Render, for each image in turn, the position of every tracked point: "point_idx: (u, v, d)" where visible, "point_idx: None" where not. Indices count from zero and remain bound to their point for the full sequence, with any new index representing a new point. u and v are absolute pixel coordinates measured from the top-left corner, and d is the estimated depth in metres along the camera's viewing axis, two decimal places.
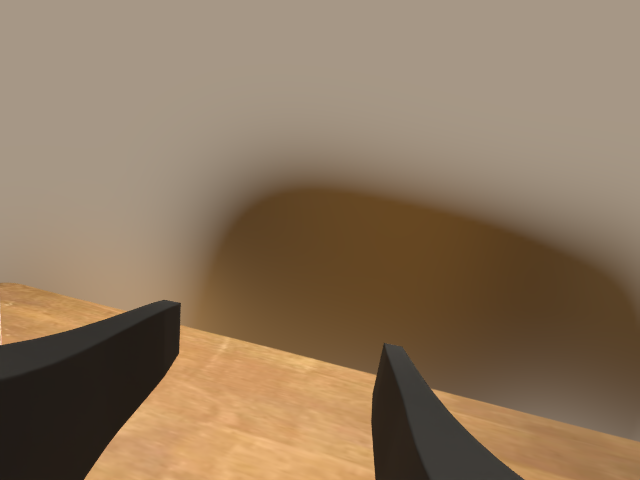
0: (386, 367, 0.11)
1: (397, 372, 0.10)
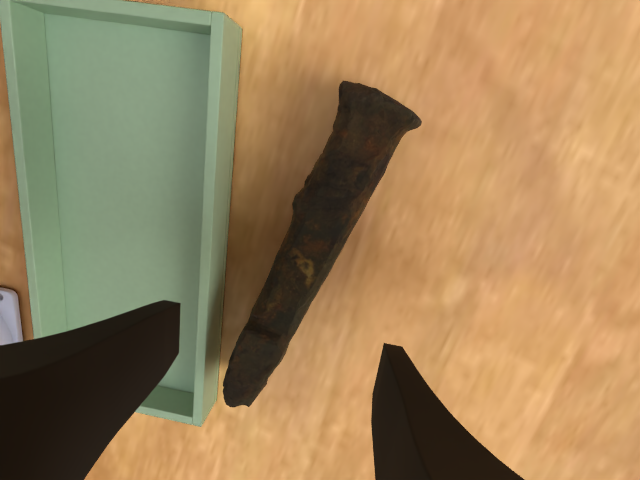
0: (386, 367, 0.11)
1: (397, 372, 0.10)
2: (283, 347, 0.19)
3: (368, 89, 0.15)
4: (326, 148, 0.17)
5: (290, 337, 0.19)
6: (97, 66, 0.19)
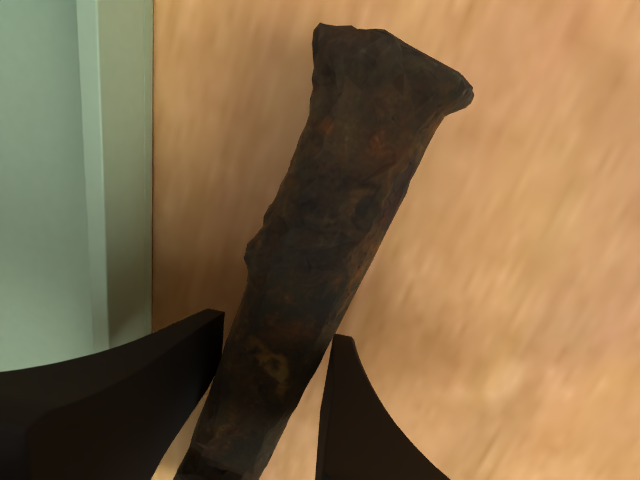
0: (330, 356, 0.11)
1: (336, 360, 0.10)
2: None
3: (369, 32, 0.07)
4: (296, 156, 0.09)
5: (259, 472, 0.12)
6: None
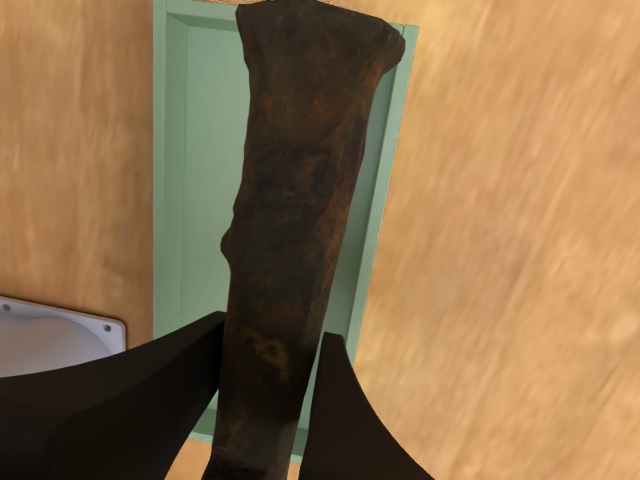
0: (320, 353, 0.11)
1: (324, 357, 0.10)
2: None
3: None
4: (246, 139, 0.09)
5: (284, 466, 0.11)
6: (243, 83, 0.18)
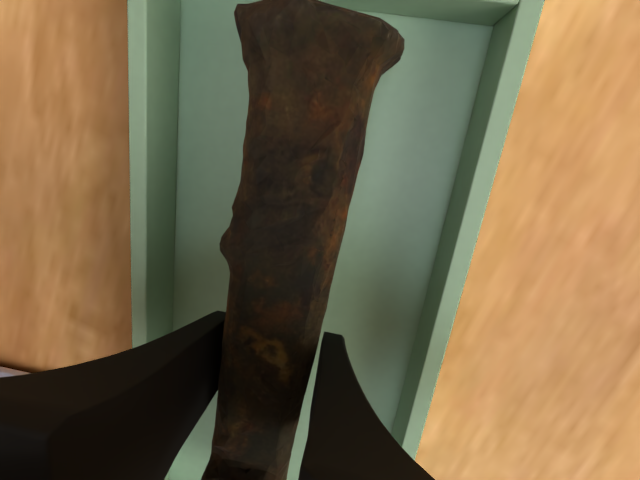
0: (320, 354, 0.11)
1: (325, 357, 0.10)
2: None
3: None
4: (245, 139, 0.09)
5: (284, 466, 0.11)
6: None
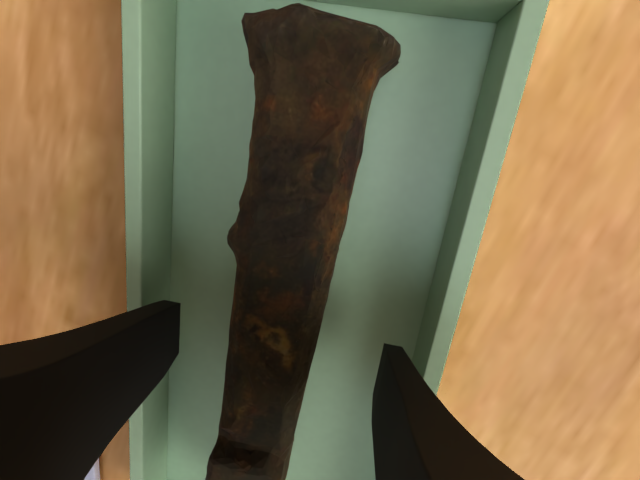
0: (386, 367, 0.11)
1: (397, 372, 0.10)
2: (278, 471, 0.12)
3: (286, 8, 0.08)
4: (251, 138, 0.10)
5: (287, 449, 0.12)
6: None
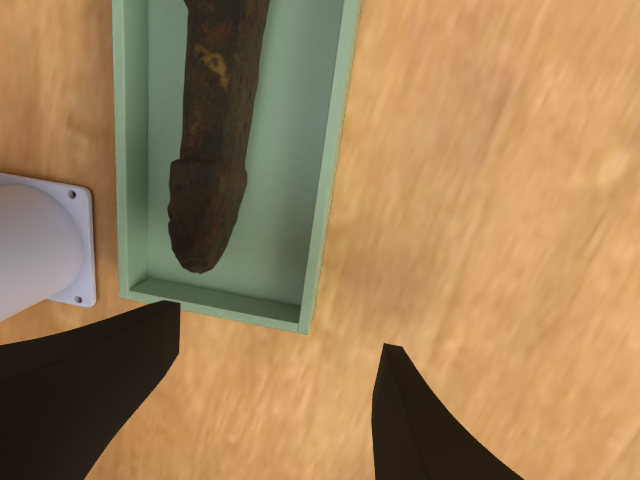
0: (386, 367, 0.11)
1: (397, 372, 0.10)
2: (220, 172, 0.16)
3: None
4: None
5: (228, 165, 0.17)
6: None
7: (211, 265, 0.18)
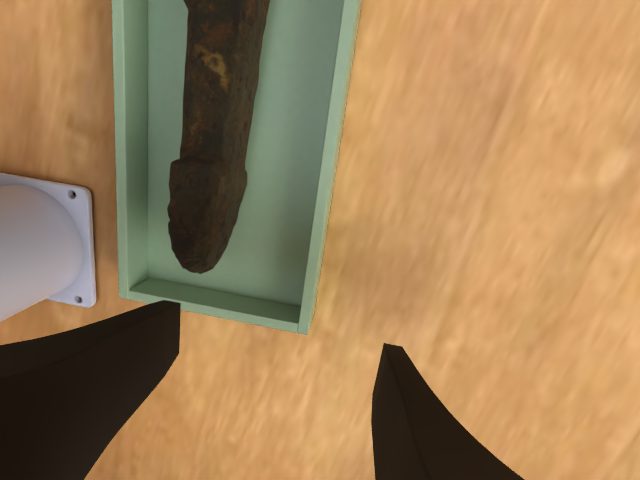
0: (386, 367, 0.11)
1: (397, 372, 0.10)
2: (220, 173, 0.16)
3: None
4: None
5: (228, 165, 0.17)
6: None
7: (211, 265, 0.18)
